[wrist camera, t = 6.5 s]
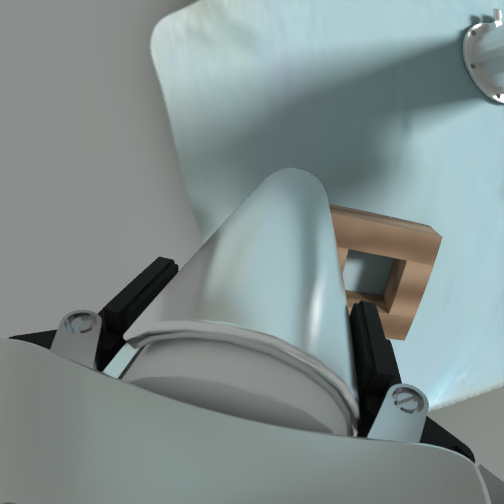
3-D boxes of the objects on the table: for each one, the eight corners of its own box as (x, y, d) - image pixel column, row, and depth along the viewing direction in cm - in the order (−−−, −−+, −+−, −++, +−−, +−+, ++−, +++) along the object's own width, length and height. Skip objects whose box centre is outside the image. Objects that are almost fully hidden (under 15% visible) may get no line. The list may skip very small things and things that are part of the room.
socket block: (321, 202, 42) (323, 211, 37) (429, 225, 40) (442, 237, 35) (300, 306, 48) (298, 324, 43) (397, 322, 46) (404, 340, 41)
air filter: (311, 156, 27) (308, 312, 4) (337, 223, 29) (382, 504, 6) (245, 183, 29) (36, 371, 6) (273, 246, 30) (175, 510, 8)
